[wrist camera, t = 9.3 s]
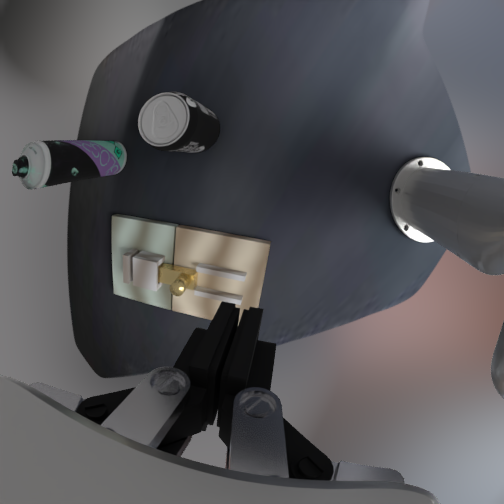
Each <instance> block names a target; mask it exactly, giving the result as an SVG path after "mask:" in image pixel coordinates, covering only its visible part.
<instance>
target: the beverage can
mask: <svg viewBox="0 0 504 504" xmlns="http://www.w3.org/2000/svg"><path fill="white" fill-rule="evenodd" d="M138 129H139V132H140V134H141V136H142V138H143V139H144V140H145V141H146V142H147V143H148V144H149V145H151V146H152V147H153V148H155V149H158V150H161V151H176V152H191V153H199V152H203V151H205V150H207V149H209V148H210V147H211V146H213V144H214V143H215V142H216V140H217V139H218V136H219V133H220V124H219V120H218V118H217V116H216V115H215V114H214V113H213V112H212V111H211V110H209V109H208V108H206V107H204V106H203V105H201V104H200V103H198V102H197V101H195V100H193V99H192V98H190V97H188V96H187V95H185V94H183V93H180V92H167V93H160V94H157V95H155V96H153V97H152V98H150V99H149V100H148V101H147V102H146V103H145V105H144V106H143V108H142V109H141V111H140V114H139V118H138Z"/></svg>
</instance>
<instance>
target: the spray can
mask: <svg viewBox="0 0 504 504" xmlns="http://www.w3.org/2000/svg"><path fill="white" fill-rule="evenodd" d="M126 159H127V154H126V150H125V148H124V146H123V145H122V144H121V143H119V142H116V141H91V140H65V141H64V140H58V141H36V142H31V143H29V144H27V145H26V146H25V148H24V149H23V151H22V153H21V156H20V158H19V159H18V160H15V161H14V164H13V169H12V174H13V176H19V177H20V179H21V182H22V184H23V185H24V186H25V187H26V188H27V189H38V188H43V187H47V186H52V185H57V184H62V183H67V182H73V181H78V180H84V179H90V178H96V177H102V176H109V175H115V174H117V173H119V172H120V171H121V170H122V169H123V168H124V166H125V164H126Z"/></svg>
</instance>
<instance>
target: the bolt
mask: <svg viewBox="0 0 504 504" xmlns="http://www.w3.org/2000/svg"><path fill="white" fill-rule="evenodd" d="M197 279H198V272H196V270H194V269H189V268H184V267H180V266H175V265H171V264H166V263H162V264H160V265H159V266H158V282H161V283H165V284H169V285H170V292H171V293H172V294H173V295H174V296H181V295H182V294H183V293H184V292H185V290H186V289H190V290H194V289H195V287H196V286H197Z"/></svg>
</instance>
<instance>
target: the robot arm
mask: <svg viewBox="0 0 504 504" xmlns="http://www.w3.org/2000/svg"><path fill="white" fill-rule="evenodd" d="M418 162H419V165H418ZM395 189H397V191H396V192H395ZM390 209H391V213H392V217H393V219H394V221H395V223H396V225H397V226H398V228H399V229H400V230H401V231H402V232H403V233H404V234H405V235H406V236H408V237H409V238H411V239H413V240H415V241H418V242H424V243H428V242H433V241H435V242H437V243H438V244H440V245H441V246H443V247H444V248H446V249H448V250H449V251H451V252H452V253H454V254H455V255H457V256H458V257H460V258H461V259H462V260H464V261H465V262H467V263H468V264H470V265H471V266H473V267H474V268H476V269H477V270H479V271H481V272H483V273H485V274H489V275H501V274H504V178H500V177H494V176H488V175H482V174H475V173H469V172H461V171H454V170H450V169H449V167H448V166H446V165H445V164H444V163H443V162H441V161H439V160H438V159H435V158H431V157H418V158H415V159H412V160H410V161H408V162H407V163H405V164H404V165H403V166H402V167H401V168H400V169H399V171H398V172H397V174H396V175H395V178H394V180H393V182H392V186H391V190H390ZM404 226H405V228H404ZM262 313H263V309H260V308H255V307H250V308H249V310H246V309H244V310H243V313H242V316H241V319H240V322H239V314H240V308H236V304H234V303H229V302H224V301H222V302H221V304H220V306H219V308H218V310H217V312H216V314H215V316H214V318H213V320H212V321H211V323H210V325H209V327H208V329H207V330H205V329H201V328H196V329H195V330H194V332H193V333H192V335H191V337H190V338H189V340H188V342H187V344H186V345H185V347H184V349H183V351H182V352H181V354H180V356H179V358H178V359H177V361H176V363H175V365H174V366H173V367H161V368H157V369H155V370H153V371H151V372H150V373H149V374H148V375H147V376H146V377H145V378H144V379H143V380H142V382H141V383H139V385H138V386H137V387H135V388H131V389H126V390H122V391H118V392H113V393H108V394H104V395H99V396H94V397H90V398H87V399H83V398H82V396H81V395H77V394H74V393H71V392H67V391H64V390H61V389H58V388H55V387H51V386H49V385H46V384H43V383H32V384H30V385H28V384H26V383H24V382H21V381H18V380H16V379H13V378H11V377H7V376H3V375H0V504H440V503H439V501H438V499H437V498H436V497H435V496H434V495H433V494H432V493H430V492H429V491H427V490H425V489H422V488H420V487H416V486H413V485H409V484H405V483H404V478H403V476H402V475H401V474H400V473H399V472H398V471H396V470H393V469H390V468H381V467H374V466H367V465H361V464H355V463H350V462H345V461H340V462H339V463H337V462H332V461H331V460H330V459H329V458H328V457H327V456H326V455H325V454H324V453H322V452H321V451H320V450H319V449H318V448H316V447H315V446H314V445H313V444H312V443H310V441H308V440H307V439H306V438H305V437H304V436H303V435H302V434H300V433H299V432H298V431H297V430H296V429H295V428H294V427H292V425H291V424H290V423H289V422H287V421H286V420H285V419H284V418H283V414H282V405H281V402H280V399H279V398H278V397H277V395H275V394H274V393H273V392H271V391H270V388H271V380H272V372H273V365H274V358H275V350H276V343H270V342H264V341H259V340H258V336H259V330H260V325H261V319H262ZM238 322H239V325H238ZM491 377H492V381H493V384H494V386H495V388H496V390H497V391H498V393H499V394H500V395H501V396H502V397H503V398H504V322H503V325H502V329H501V332H500V335H499V338H498V341H497V344H496V347H495V350H494V353H493V358H492V363H491ZM217 411H218V418H217V419H218V420H217V426H218V427H220V430H219V437H220V438H221V440H222V441H223V442H224V443H225V445H226V446H227V451H226V452H227V453H226V466H225V468H220V467H215V466H211V465H207V464H203V463H200V462H196V461H192V460H189V459H185V458H182V457H181V455H182V454H183V452H184V451H185V449H186V447H187V446H188V444H189V442H190V441H191V438H192V435H194V434H197V433H199V432H201V430H202V431H206V428H207V425H208V424H209V425H213V423H214V420H215V417H216V414H217Z"/></svg>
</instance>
